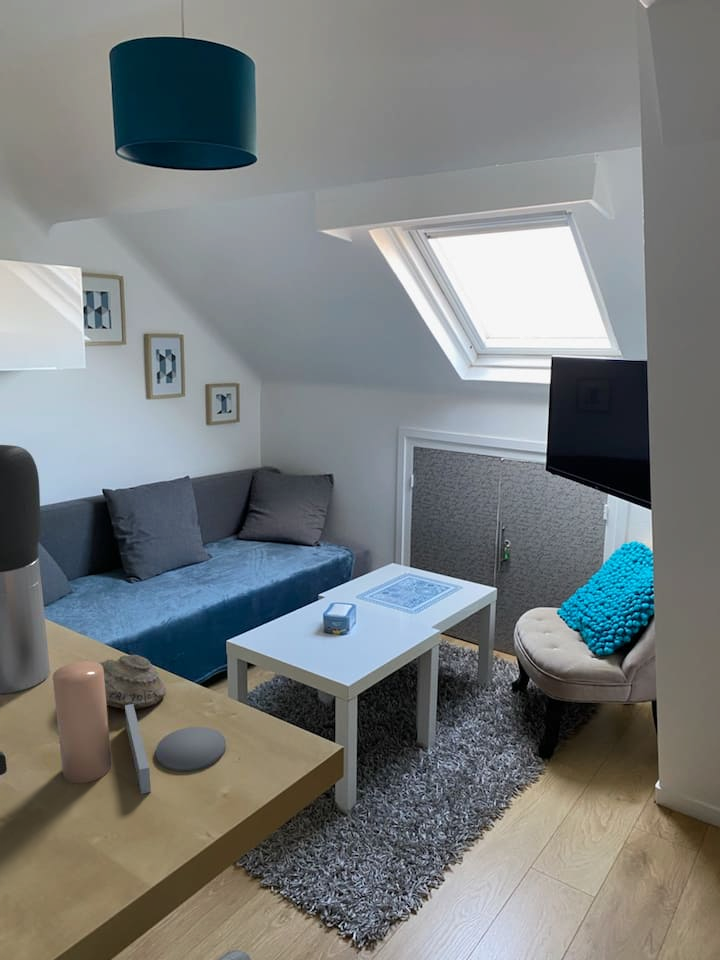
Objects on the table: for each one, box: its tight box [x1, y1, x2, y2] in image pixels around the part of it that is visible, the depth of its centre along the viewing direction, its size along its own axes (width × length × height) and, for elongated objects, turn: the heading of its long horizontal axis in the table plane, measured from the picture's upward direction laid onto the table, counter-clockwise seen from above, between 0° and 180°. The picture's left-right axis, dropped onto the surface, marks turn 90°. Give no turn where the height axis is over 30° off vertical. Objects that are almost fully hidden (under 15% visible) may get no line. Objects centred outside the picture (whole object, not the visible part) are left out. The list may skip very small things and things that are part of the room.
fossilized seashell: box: [98, 654, 166, 710], centre depth 98 cm, size 11×11×7 cm
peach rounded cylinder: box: [52, 660, 113, 784], centre depth 82 cm, size 5×5×12 cm
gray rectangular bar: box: [124, 704, 152, 795], centre depth 85 cm, size 14×1×3 cm, turn 24°
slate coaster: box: [155, 726, 227, 772], centre depth 87 cm, size 8×8×1 cm
